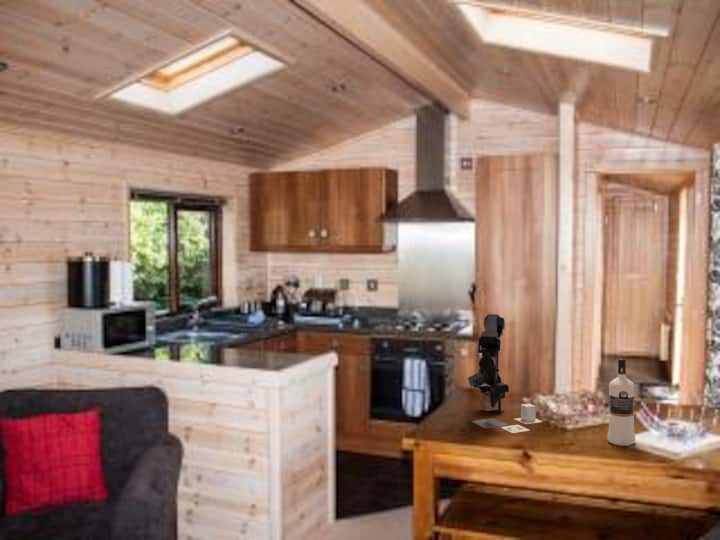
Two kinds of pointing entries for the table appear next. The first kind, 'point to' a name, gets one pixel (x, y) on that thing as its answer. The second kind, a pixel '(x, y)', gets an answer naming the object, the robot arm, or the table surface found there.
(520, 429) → the cream glyph tile
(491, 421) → the slate coaster
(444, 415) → the table surface
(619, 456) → the table surface
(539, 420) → the code tile
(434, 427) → the table surface
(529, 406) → the beige block
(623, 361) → the vodka
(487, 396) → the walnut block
